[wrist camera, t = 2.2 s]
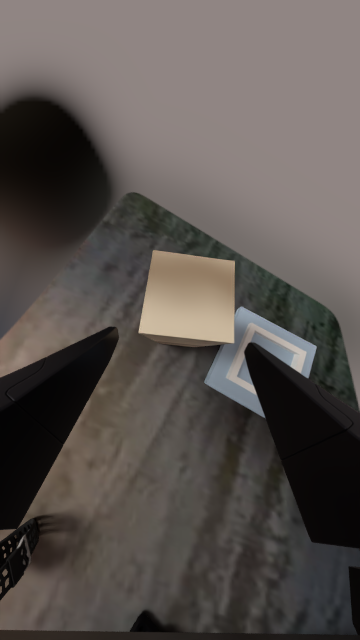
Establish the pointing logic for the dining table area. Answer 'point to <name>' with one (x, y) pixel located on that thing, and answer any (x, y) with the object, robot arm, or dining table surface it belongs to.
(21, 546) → the smartwatch
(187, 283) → the maple pillar
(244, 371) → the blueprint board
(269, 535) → the dining table surface
